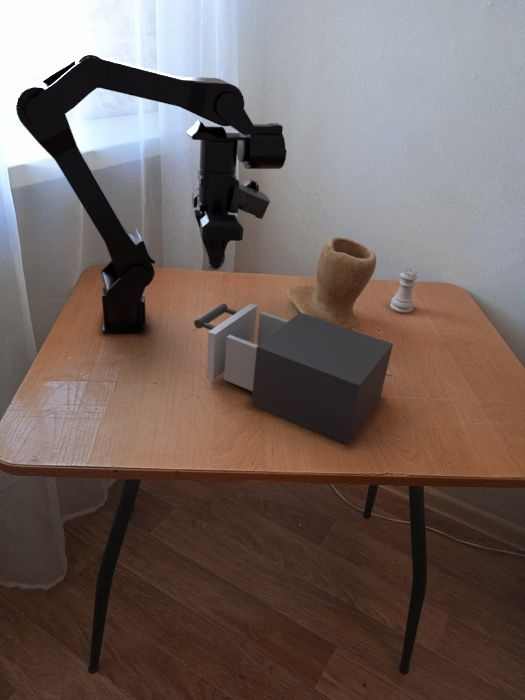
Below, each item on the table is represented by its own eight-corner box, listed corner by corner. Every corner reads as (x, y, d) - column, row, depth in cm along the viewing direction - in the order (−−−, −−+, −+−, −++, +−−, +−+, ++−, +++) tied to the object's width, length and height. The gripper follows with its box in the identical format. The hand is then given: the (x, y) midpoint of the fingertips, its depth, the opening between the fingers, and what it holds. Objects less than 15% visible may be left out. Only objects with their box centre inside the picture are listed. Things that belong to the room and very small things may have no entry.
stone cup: (374, 334, 100) (391, 256, 93) (312, 339, 97) (325, 258, 89) (339, 297, 113) (352, 224, 105) (284, 300, 109) (293, 226, 101)
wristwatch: (223, 276, 97) (225, 248, 98) (217, 265, 92) (220, 237, 93) (205, 275, 97) (208, 248, 98) (199, 265, 92) (202, 236, 93)
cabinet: (251, 405, 79) (256, 346, 74) (292, 366, 89) (299, 312, 84) (346, 446, 74) (359, 385, 69) (379, 399, 83) (393, 343, 78)
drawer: (183, 368, 84) (184, 322, 80) (226, 338, 93) (228, 295, 89) (287, 411, 77) (293, 364, 73) (322, 374, 86) (329, 330, 82)
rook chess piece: (415, 308, 111) (424, 271, 107) (407, 316, 108) (417, 278, 104) (394, 301, 113) (402, 264, 109) (386, 309, 110) (394, 271, 106)
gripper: (280, 187, 82) (270, 285, 90) (257, 156, 97) (250, 242, 105) (204, 184, 79) (201, 285, 87) (192, 153, 95) (191, 241, 103)
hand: (213, 261), depth 96 cm, fingers closed on wristwatch, 5 cm apart
